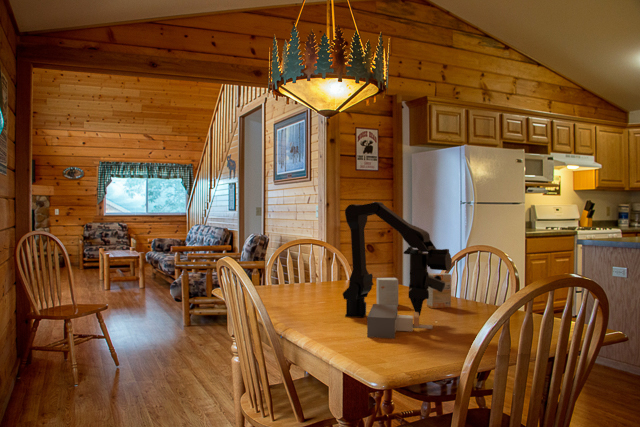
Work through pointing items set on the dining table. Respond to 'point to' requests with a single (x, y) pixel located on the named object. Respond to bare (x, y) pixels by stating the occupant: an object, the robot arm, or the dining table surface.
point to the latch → (416, 318)
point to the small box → (387, 291)
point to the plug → (408, 323)
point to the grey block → (382, 321)
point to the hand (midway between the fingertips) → (418, 315)
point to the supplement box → (440, 293)
